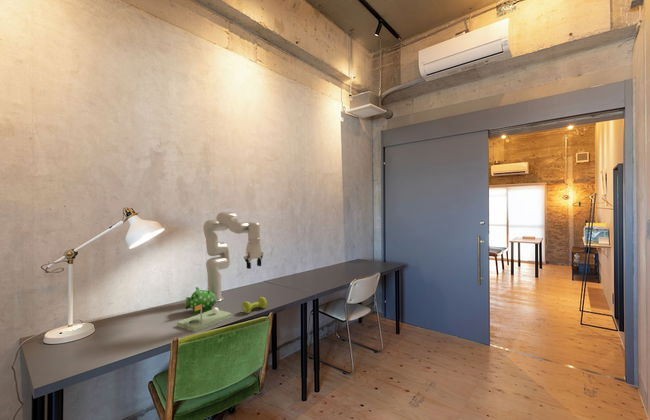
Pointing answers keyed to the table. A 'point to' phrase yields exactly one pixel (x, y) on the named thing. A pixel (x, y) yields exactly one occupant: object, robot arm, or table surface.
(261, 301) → the dumbbell
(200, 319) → the green
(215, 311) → the ball
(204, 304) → the piggy bank
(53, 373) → the table surface
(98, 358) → the table surface
